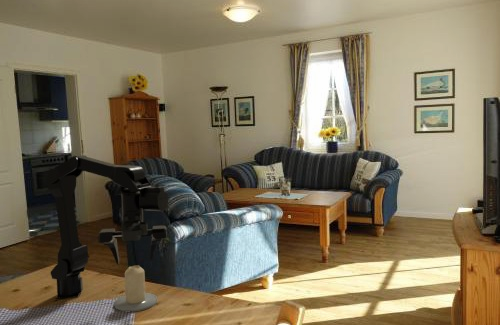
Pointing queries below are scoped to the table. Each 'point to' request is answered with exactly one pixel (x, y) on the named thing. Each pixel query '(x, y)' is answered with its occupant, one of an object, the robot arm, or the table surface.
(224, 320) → the table surface
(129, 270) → the candle
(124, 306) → the slate plate
